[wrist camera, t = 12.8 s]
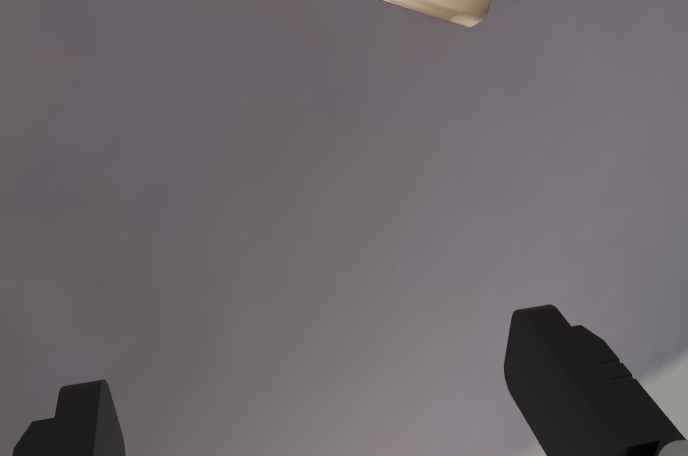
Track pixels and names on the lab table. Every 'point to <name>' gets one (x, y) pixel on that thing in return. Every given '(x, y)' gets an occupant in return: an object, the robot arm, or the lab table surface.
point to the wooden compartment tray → (450, 9)
